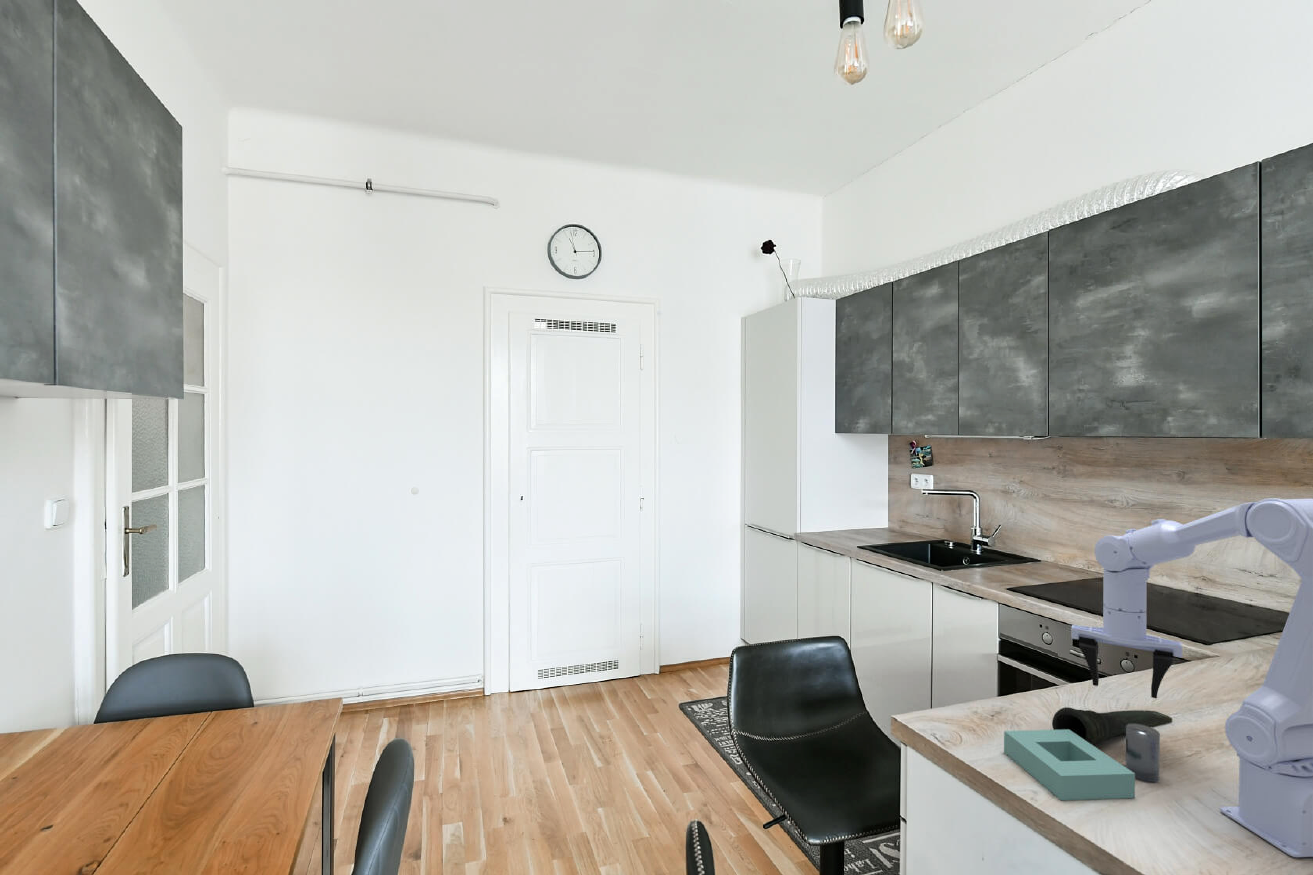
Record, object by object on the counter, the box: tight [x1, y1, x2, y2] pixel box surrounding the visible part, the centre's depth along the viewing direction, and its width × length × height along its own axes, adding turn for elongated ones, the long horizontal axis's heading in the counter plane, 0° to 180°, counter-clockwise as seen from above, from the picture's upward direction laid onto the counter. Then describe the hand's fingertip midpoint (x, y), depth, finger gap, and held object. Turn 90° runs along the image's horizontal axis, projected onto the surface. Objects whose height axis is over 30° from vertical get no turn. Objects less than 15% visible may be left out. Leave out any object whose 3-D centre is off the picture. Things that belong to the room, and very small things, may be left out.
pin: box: [1125, 724, 1161, 784], centre depth 94 cm, size 4×4×7 cm
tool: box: [1051, 706, 1173, 746], centre depth 106 cm, size 28×6×7 cm, turn 109°
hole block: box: [1003, 729, 1136, 801], centre depth 94 cm, size 13×11×4 cm
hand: (1124, 689), depth 102 cm, fingers open, 7 cm apart
